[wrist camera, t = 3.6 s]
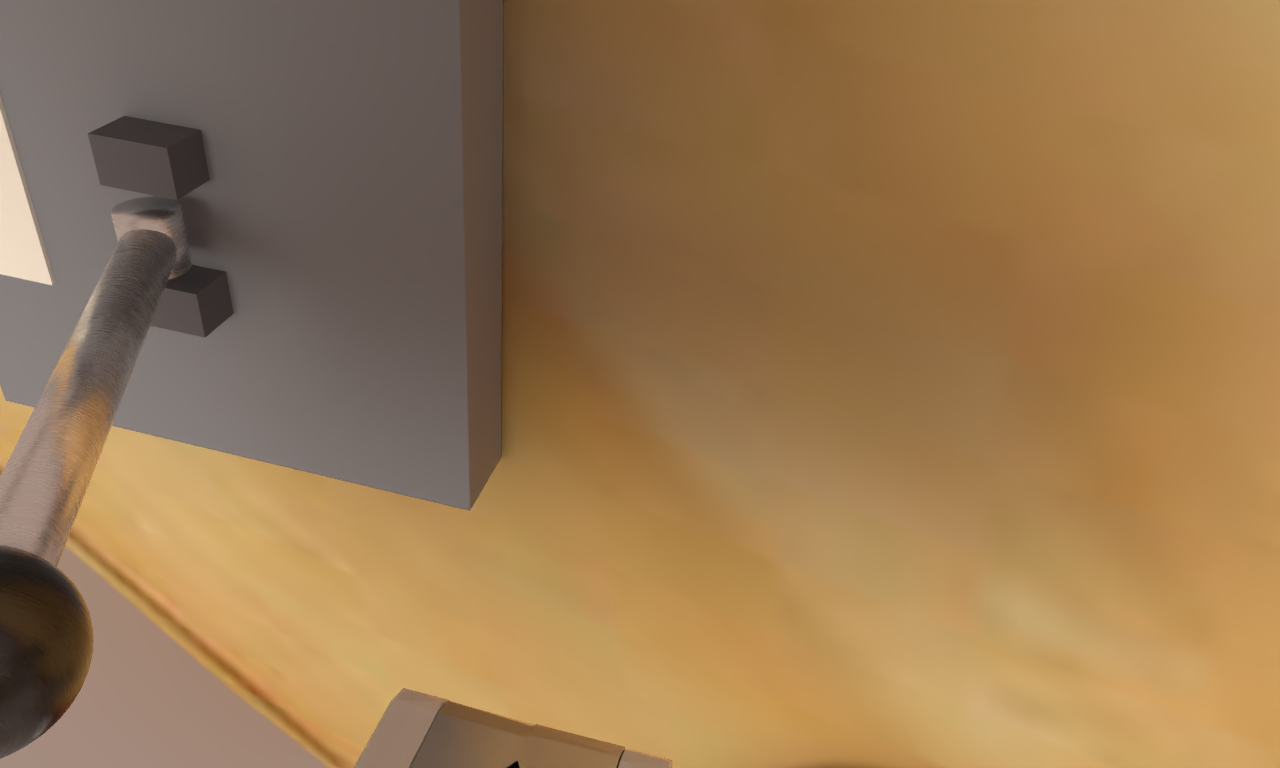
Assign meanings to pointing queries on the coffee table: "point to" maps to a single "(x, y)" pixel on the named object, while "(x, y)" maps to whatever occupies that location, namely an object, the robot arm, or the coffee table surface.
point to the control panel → (271, 222)
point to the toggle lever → (72, 472)
